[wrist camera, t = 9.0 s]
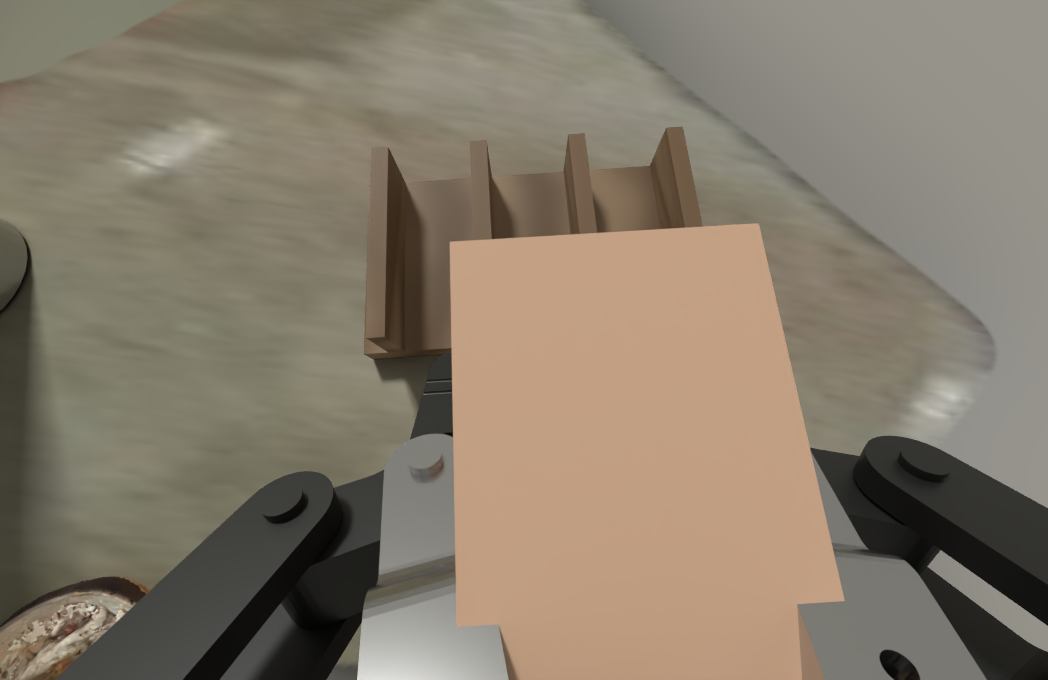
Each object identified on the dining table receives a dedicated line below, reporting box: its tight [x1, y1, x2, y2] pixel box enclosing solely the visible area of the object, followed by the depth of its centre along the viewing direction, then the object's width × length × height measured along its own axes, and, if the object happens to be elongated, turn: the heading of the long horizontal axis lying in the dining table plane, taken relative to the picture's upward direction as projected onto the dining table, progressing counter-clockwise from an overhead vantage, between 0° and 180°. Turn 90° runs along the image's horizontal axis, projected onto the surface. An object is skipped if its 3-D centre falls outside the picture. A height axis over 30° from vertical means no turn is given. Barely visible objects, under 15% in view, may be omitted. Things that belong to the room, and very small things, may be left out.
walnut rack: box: [364, 127, 703, 359], centre depth 26 cm, size 22×12×5 cm, turn 94°
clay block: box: [450, 223, 845, 680], centre depth 9 cm, size 4×4×10 cm
